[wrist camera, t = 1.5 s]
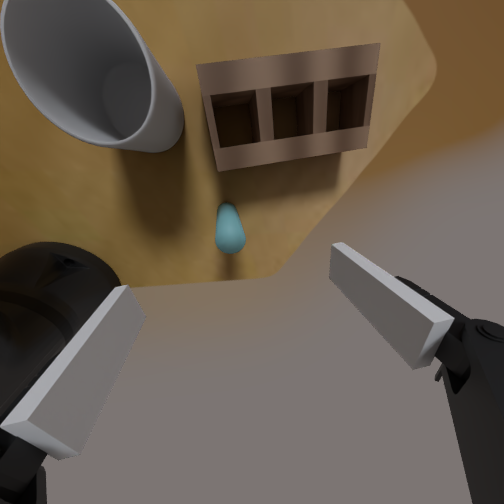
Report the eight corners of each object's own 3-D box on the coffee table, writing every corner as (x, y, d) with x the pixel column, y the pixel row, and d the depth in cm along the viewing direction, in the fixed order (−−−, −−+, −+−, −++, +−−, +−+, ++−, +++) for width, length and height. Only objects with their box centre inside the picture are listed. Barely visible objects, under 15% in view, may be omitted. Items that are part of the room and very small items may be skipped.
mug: (195, 143, 24) (177, 132, 14) (129, 160, 23) (64, 160, 14) (150, 4, 18) (67, -179, 8) (63, 24, 18) (-128, -140, 8)
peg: (219, 223, 29) (219, 256, 19) (215, 204, 27) (212, 228, 18) (238, 220, 29) (247, 250, 19) (235, 200, 27) (243, 223, 18)
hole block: (218, 169, 25) (217, 171, 21) (201, 84, 21) (195, 64, 17) (342, 149, 27) (366, 147, 22) (348, 66, 22) (380, 42, 18)
